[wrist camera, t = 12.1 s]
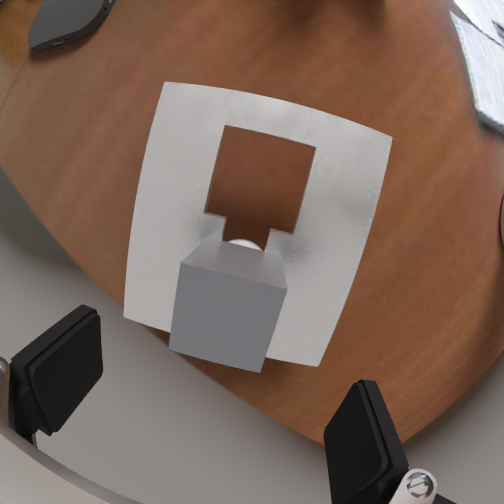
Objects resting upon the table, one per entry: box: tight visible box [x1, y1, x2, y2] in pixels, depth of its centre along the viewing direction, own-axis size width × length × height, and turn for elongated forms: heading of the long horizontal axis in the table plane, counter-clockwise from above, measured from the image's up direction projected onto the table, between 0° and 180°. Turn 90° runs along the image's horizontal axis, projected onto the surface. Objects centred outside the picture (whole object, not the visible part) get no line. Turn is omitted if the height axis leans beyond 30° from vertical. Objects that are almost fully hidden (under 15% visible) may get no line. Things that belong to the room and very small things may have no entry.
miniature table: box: [124, 82, 392, 367], centre depth 22 cm, size 16×18×8 cm
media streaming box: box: [28, 0, 115, 51], centre depth 18 cm, size 15×15×3 cm
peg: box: [169, 237, 288, 373], centre depth 18 cm, size 5×5×10 cm
